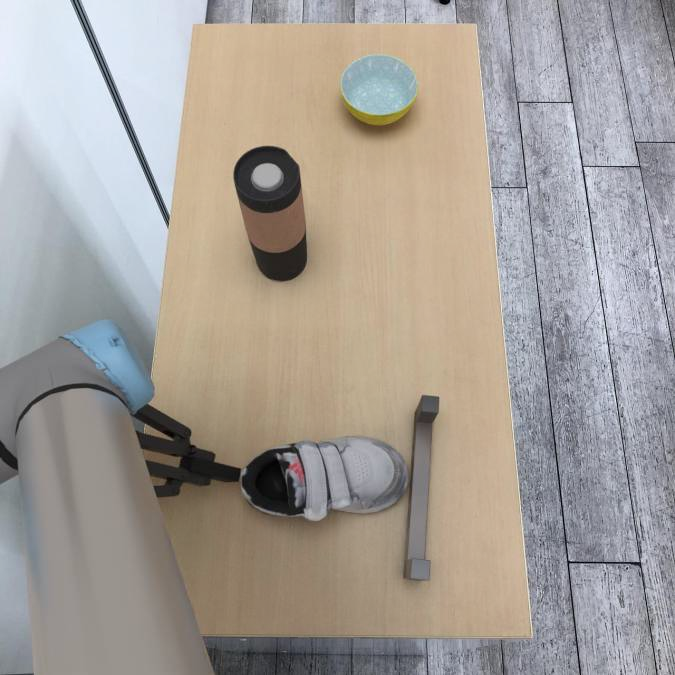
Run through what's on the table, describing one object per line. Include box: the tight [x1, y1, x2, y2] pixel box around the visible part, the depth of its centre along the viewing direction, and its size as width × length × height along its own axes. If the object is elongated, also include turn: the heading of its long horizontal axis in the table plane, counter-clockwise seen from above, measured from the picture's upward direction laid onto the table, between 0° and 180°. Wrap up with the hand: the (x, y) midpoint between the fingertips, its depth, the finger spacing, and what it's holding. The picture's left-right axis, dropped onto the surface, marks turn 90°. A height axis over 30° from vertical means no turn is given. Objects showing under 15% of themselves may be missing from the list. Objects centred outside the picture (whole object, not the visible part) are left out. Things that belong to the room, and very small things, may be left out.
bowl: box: [339, 53, 419, 126], centre depth 95 cm, size 11×12×6 cm
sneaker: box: [240, 435, 409, 522], centre depth 72 cm, size 10×20×10 cm, turn 95°
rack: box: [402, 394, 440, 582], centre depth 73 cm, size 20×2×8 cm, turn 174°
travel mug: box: [232, 145, 308, 282], centre depth 79 cm, size 8×8×20 cm
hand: (233, 475), depth 73 cm, fingers closed
